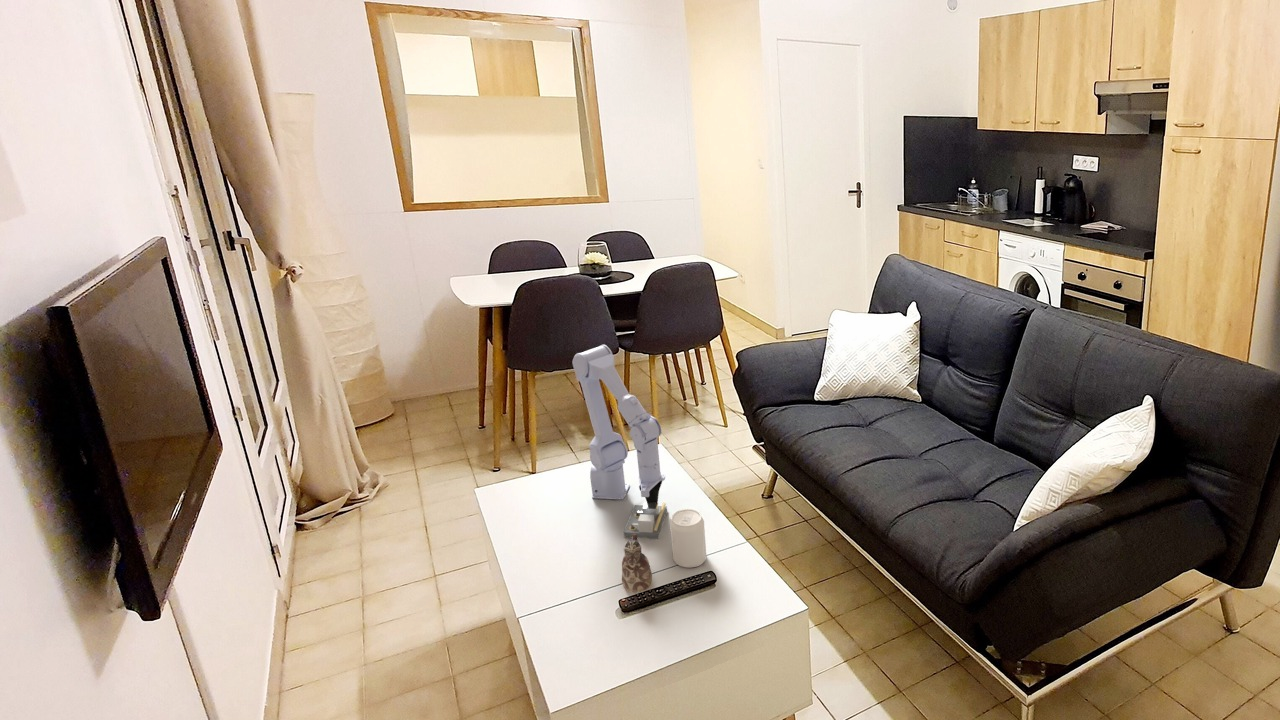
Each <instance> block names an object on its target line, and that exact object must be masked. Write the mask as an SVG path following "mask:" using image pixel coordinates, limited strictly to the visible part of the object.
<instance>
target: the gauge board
mask: <svg viewBox="0 0 1280 720" xmlns="http://www.w3.org/2000/svg"><path fill="white" fill-rule="evenodd" d="M643 506H644V504H634V506H633V508H632V511H631V513H630V516H629V519H628V521H627V523H626V526H625V529H624V531H623V537H624V538H630V539H631V538H633V534H635V535H637V539H649V540H651V539H652V540H659V537H660V534H661V532H662V531H661V530H662V528H663V525H664V522H665V519H666V516H667V512H668V508H667V507H668V506H667V505H666V502H663V503H662V505H658V507H659V514H658V517H657V519H655V518H654V515H646V514H639V515H636V512H637V511H643Z"/></svg>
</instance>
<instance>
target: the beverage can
mask: <svg viewBox="0 0 1280 720" xmlns="http://www.w3.org/2000/svg"><path fill="white" fill-rule="evenodd" d="M669 523H670V525H669V526H670V535H671V536H670V537H671V548H672V556H673V557H672V558H673V562H674V563H675V564H677V565H678V566H680V567H683V568H696V567H699V566H701V565H702V564H703V563H704V562H706V559H707V545H706V544H707V543H706V530H705V519H704V517H703V516H702V514H701V513H700V511H698V510H696V509H689V508H687V509H686V508H685V509H679V510H677V511H676V512H674V513H673V514H672V517H671V519H670V522H669Z"/></svg>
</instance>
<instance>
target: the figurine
mask: <svg viewBox="0 0 1280 720" xmlns="http://www.w3.org/2000/svg"><path fill="white" fill-rule="evenodd" d="M623 551H624V556H623V558H622V562H621V573H622V574H621V583H622V585H623V587H624V588H625V590H626V591H627V592H628V593H634V594H638V593H642V592H645V591H647V590H649V589H650V587H651V586H652V583H653V573H652V568H651V565H650V562H649V560H648V559H649V558H648V557H647V556H646V555H645V554H644V553H642V545H641V543H640V542H639V540H638V538H637V535H635V534H633V538H632V539H629V540H627V542H625V545H624V548H623ZM641 591H642V592H641ZM637 592H638V593H637Z"/></svg>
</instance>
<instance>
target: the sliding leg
mask: <svg viewBox="0 0 1280 720" xmlns="http://www.w3.org/2000/svg"><path fill="white" fill-rule="evenodd" d="M643 505H644V506H643V511H637V512H636V515H639V514H646V515H654V518H655V519H657V517H658V514H659V507H658V506H659V502H658V503H653V502H647V501H646V502H644V503H643Z"/></svg>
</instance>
